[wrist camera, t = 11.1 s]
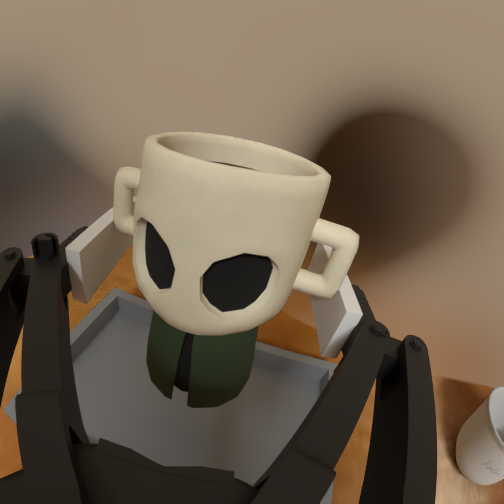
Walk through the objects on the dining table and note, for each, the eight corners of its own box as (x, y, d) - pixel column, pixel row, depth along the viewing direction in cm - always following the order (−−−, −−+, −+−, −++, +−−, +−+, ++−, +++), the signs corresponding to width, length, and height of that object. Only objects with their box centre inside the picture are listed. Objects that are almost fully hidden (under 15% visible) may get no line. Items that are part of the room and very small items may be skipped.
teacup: (445, 500, 13) (505, 465, 10) (437, 421, 23) (482, 379, 19) (510, 483, 12) (557, 449, 8) (498, 423, 21) (536, 386, 18)
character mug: (93, 374, 14) (62, 137, 7) (146, 306, 20) (161, 122, 14) (271, 444, 13) (407, 226, 6) (288, 356, 19) (365, 174, 13)
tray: (18, 426, 13) (3, 410, 12) (116, 307, 29) (115, 287, 27) (306, 546, 11) (325, 544, 10) (326, 381, 27) (338, 364, 25)
